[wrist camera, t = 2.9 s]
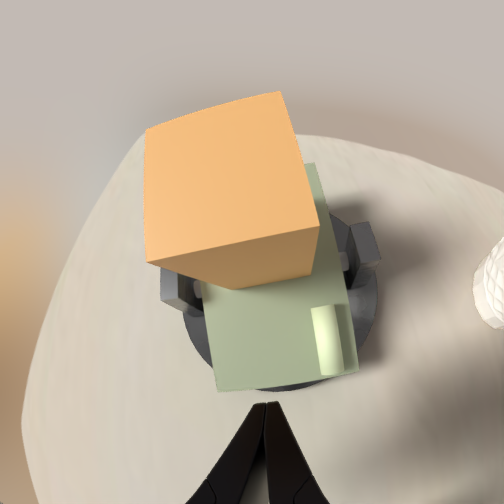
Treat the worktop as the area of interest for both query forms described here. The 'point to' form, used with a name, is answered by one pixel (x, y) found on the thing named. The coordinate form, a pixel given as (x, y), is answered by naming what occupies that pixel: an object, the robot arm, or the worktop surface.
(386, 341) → the worktop surface
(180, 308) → the base
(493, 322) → the white cup
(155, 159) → the orange and green block
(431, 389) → the worktop surface
